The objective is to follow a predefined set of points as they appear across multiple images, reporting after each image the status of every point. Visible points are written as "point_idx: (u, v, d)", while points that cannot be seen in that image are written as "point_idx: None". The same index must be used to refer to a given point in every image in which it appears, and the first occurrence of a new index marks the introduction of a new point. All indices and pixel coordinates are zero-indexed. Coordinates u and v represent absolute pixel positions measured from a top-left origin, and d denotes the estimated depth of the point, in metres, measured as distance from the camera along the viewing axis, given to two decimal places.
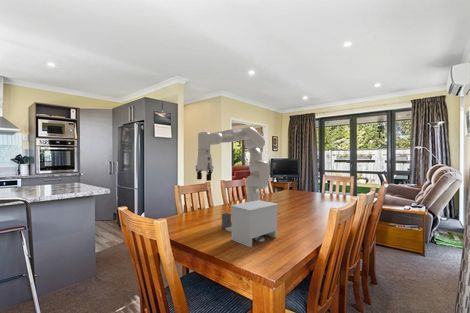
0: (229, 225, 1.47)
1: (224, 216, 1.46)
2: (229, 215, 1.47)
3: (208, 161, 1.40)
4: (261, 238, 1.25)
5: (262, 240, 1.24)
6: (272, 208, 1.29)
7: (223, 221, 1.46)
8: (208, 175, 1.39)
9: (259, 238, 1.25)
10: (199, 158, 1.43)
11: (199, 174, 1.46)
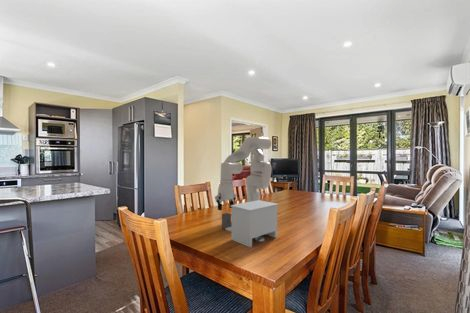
0: (229, 225, 1.47)
1: (224, 216, 1.46)
2: (229, 215, 1.47)
3: None
4: (261, 238, 1.25)
5: (262, 240, 1.24)
6: (272, 208, 1.29)
7: (223, 221, 1.46)
8: None
9: (259, 238, 1.25)
10: (227, 188, 1.44)
11: None
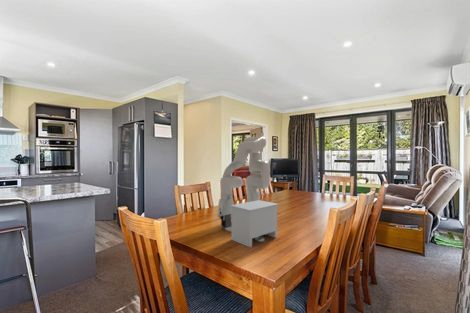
0: (229, 225, 1.47)
1: None
2: (229, 215, 1.47)
3: None
4: (261, 238, 1.26)
5: (262, 240, 1.24)
6: (272, 208, 1.29)
7: None
8: None
9: (259, 238, 1.25)
10: (227, 203, 1.45)
11: None
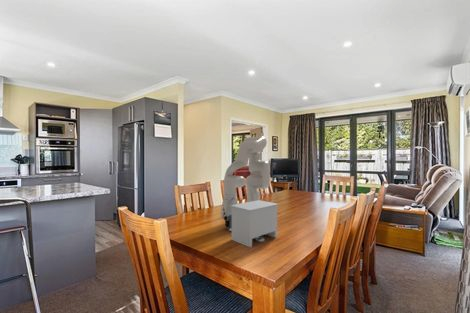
0: None
1: None
2: None
3: None
4: (261, 238, 1.26)
5: (262, 240, 1.24)
6: (272, 208, 1.29)
7: None
8: None
9: (259, 238, 1.25)
10: (230, 203, 1.42)
11: None
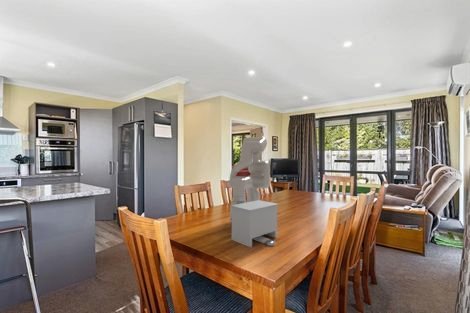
0: None
1: None
2: None
3: None
4: (272, 242, 1.20)
5: (273, 244, 1.19)
6: (272, 208, 1.29)
7: None
8: None
9: (269, 242, 1.20)
10: None
11: None
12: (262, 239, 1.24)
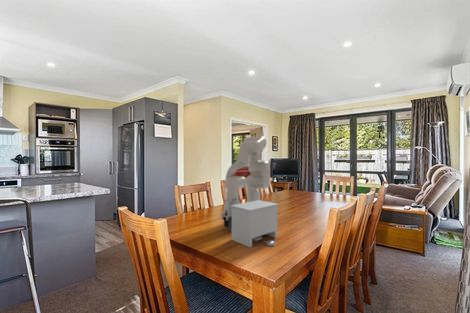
0: None
1: (230, 218, 1.42)
2: None
3: None
4: (272, 242, 1.20)
5: (273, 244, 1.18)
6: (272, 208, 1.29)
7: (229, 223, 1.42)
8: None
9: (269, 242, 1.20)
10: (233, 204, 1.41)
11: None
12: None
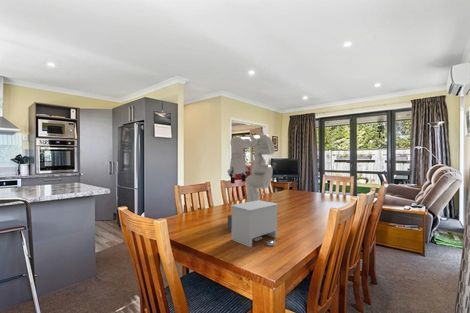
0: None
1: (230, 218, 1.42)
2: None
3: None
4: (272, 242, 1.20)
5: (273, 244, 1.18)
6: (272, 208, 1.29)
7: (229, 223, 1.42)
8: None
9: (269, 242, 1.20)
10: (238, 162, 1.48)
11: None
12: None
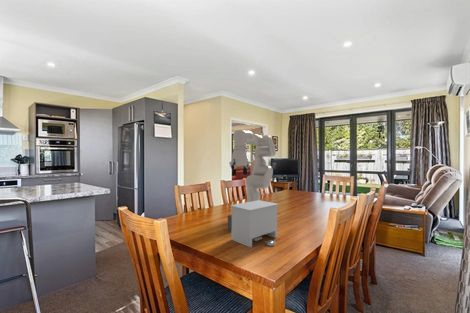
0: None
1: (230, 218, 1.42)
2: None
3: None
4: (272, 242, 1.20)
5: (273, 244, 1.18)
6: (272, 208, 1.29)
7: (229, 223, 1.42)
8: None
9: (269, 242, 1.20)
10: (240, 154, 1.50)
11: None
12: None
